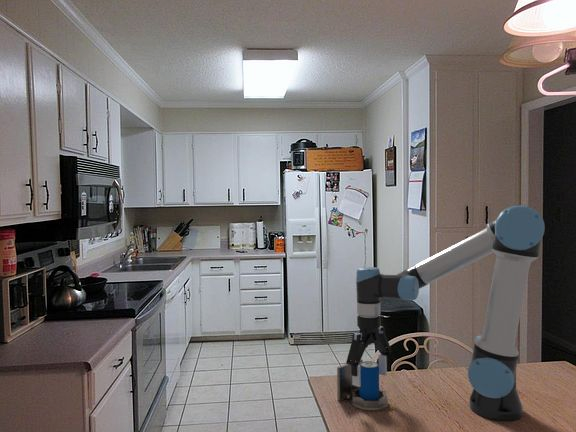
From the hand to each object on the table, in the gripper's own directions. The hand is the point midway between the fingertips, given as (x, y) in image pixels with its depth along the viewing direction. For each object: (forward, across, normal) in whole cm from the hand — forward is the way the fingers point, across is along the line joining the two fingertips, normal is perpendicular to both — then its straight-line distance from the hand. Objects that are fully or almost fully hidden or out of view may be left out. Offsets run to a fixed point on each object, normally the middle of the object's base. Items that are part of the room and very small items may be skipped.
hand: (370, 380), depth 147 cm
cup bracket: (+8, 0, -2) cm, 8 cm away
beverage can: (+7, 0, 0) cm, 7 cm away
